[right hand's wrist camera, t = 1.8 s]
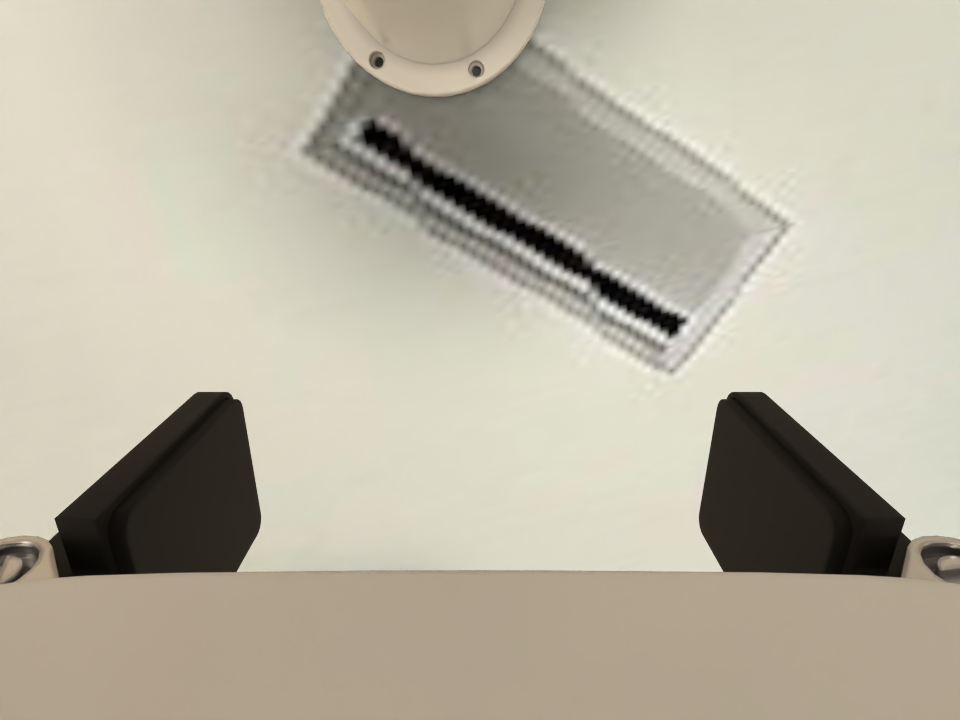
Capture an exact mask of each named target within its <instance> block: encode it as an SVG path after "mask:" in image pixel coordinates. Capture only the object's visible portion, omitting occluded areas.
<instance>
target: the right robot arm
mask: <svg viewBox="0 0 960 720" xmlns="http://www.w3.org/2000/svg"><path fill="white" fill-rule="evenodd" d="M545 1H546V0H320V3H321V5H322V8H323V11H324V13H325V16H326V18H327V21H328V23H329V25H330V27H331V28H332V30H333V32H334V33H335V35H336V37H337V38H338V40H339V42H340V43H341V45H342V46H343V47H344V48H345V49H346V51H347V52H348V53H349V54H350V55H351V56H352V58H353V59H354V60H355V61H356V62H357V63H358V64H359V65H360V66H361V67H362V68H364V69H365V70H366V71H367V72H368V73H370V74H371V75H373V76H374V77H375V78H377V79H378V80H380V81H381V82H383V83H385V84H386V85H388V86H391V87H393V88H395V89H398V90H400V91H403V92H405V93H409V94H414V95H419V96H424V97H449V96H453V95H458V94H462V93H467V92H469V91H472V90H474V89H476V88H478V87H480V86H483V85H485V84H487V83H489V82H490V81H491V80H493V79H494V78H495V77H497V76H498V75H500V74H501V73H502V72H504V71H505V70H506V69H507V68H508V67H509V66H510V65H511V64H512V63H513V61H514V60H515V59H516V58H517V57H518V56H519V55H520V54H521V52H522V51H523V49H524V48H525V46H526V45H527V43H528V41H529V40H530V38H531V37H532V35H533V33H534V31H535V29H536V26H537V24H538V22H539V20H540V17H541V14H542V12H543V8H544V5H545ZM378 58H382V59H383V62H384V63H383V65H382V66H381V67H377V66H376V64H375V62H376V60H377V59H378ZM474 67H479V68H480V69H481V74H480V75H479V76H474V75H473V74H472V70H473V68H474ZM55 521H56V525H57V528H58V531H59V532H58V533H57V534H56V535H55V536H54V537H53V538H52V539H51V540H50V541H48V540H46V539H43V538H41V537H37V536H18V537H10V538H4V539H1V540H0V720H960V540H959V539H956V538H950V537H942V536H923V537H919V538H917V539H914V540H912V541H910V540H909V539H908V538H907V537H906V536H905V535H904V534H903V533H902V532H901V531H902V528H903V525H904V521H905V518H904V517H903V516H902V515H901V514H900V513H898V512H897V511H896V510H895V509H894V508H893V507H892V506H891V505H890V504H888V503H887V502H886V501H885V500H884V499H883V498H882V497H881V496H879V495H878V494H877V493H876V492H875V491H874V490H873V489H872V488H870V487H869V486H868V485H867V484H866V483H865V482H864V481H863V480H861V479H860V478H859V477H858V476H857V475H856V474H855V473H854V472H852V471H851V470H850V469H849V468H848V467H847V466H846V465H845V464H843V463H842V462H841V461H840V460H839V459H838V458H837V457H836V456H834V455H833V454H832V453H831V452H830V451H829V450H828V449H827V448H825V447H824V446H823V445H822V444H821V443H820V442H819V441H818V440H817V439H815V438H814V437H813V436H812V435H811V434H810V433H809V432H808V431H806V430H805V429H804V428H803V427H802V426H801V425H800V424H799V423H797V422H796V421H795V420H794V419H793V418H792V417H791V416H790V415H788V414H787V413H786V412H785V411H784V410H783V409H782V408H781V407H779V406H778V405H777V404H776V403H775V402H774V401H773V400H772V399H770V398H769V397H768V396H767V395H766V394H765V393H763V392H731V393H730V394H729V395H728V397H727V399H722V400H721V401H720V402H719V404H718V407H717V412H716V417H715V423H714V429H713V435H712V441H711V447H710V453H709V459H708V465H707V471H706V477H705V483H704V488H703V494H702V500H701V506H700V512H699V524H700V529H701V532H702V534H703V536H704V538H705V540H706V541H707V543H708V545H709V547H710V549H711V550H712V552H713V554H714V556H715V557H716V559H717V561H718V563H719V564H720V566H721V568H722V570H723V572H654V571H500V570H468V571H299V572H237V570H238V568H239V566H240V564H241V563H242V561H243V559H244V557H245V556H246V554H247V552H248V550H249V548H250V547H251V545H252V543H253V541H254V540H255V538H256V536H257V534H258V532H259V529H260V524H261V512H260V506H259V500H258V494H257V489H256V483H255V477H254V471H253V465H252V459H251V453H250V447H249V441H248V435H247V429H246V423H245V418H244V412H243V407H242V404H241V402H240V401H239V400H238V399H233V397H232V395H231V394H230V393H229V392H197V393H195V394H194V395H193V396H192V397H191V398H190V399H188V400H187V401H186V402H185V403H184V404H183V405H182V406H181V407H179V408H178V409H177V410H176V411H175V412H174V413H173V414H172V415H170V416H169V417H168V418H167V419H166V420H165V421H164V422H163V423H161V424H160V425H159V426H158V427H157V428H156V429H155V430H154V431H152V432H151V433H150V434H149V435H148V436H147V437H146V438H145V439H143V440H142V441H141V442H140V443H139V444H138V445H137V446H136V447H135V448H133V449H132V450H131V451H130V452H129V453H128V454H127V455H126V456H124V457H123V458H122V459H121V460H120V461H119V462H118V463H117V464H115V465H114V466H113V467H112V468H111V469H110V470H109V471H108V472H106V473H105V474H104V475H103V476H102V477H101V478H100V479H99V480H97V481H96V482H95V483H94V484H93V485H92V486H91V487H90V488H88V489H87V490H86V491H85V492H84V493H83V494H82V495H81V496H79V497H78V498H77V499H76V500H75V501H74V502H73V503H72V504H70V505H69V506H68V507H67V508H66V509H65V510H64V511H63V512H62V513H60V514H59V515H58V516H57V517H56V518H55Z"/></svg>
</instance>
